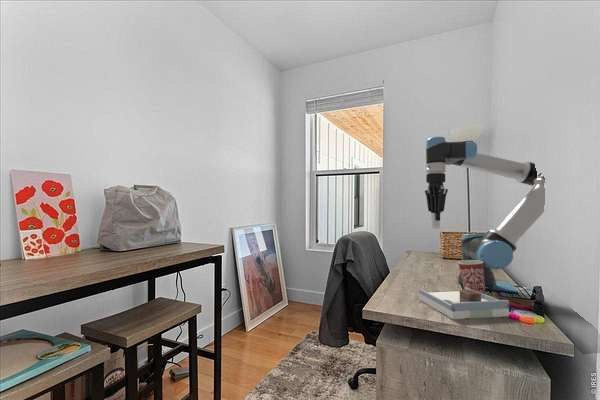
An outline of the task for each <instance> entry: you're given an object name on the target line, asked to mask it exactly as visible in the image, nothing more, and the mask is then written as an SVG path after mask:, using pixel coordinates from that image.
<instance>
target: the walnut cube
mask: <svg viewBox="0 0 600 400" xmlns="http://www.w3.org/2000/svg"><path fill="white" fill-rule="evenodd" d="M459 291H460V302H478V301H481V293H478V292H476V291H473V290H464V289H460V290H459Z"/></svg>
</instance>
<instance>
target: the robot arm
mask: <svg viewBox="0 0 600 400" xmlns="http://www.w3.org/2000/svg"><path fill="white" fill-rule="evenodd" d="M425 145H426V147H425V153H426V155H425V156H426V157H425V159H426V160H425V162H426V165H425V167H426V170H425V171H426V175H425V176H426V177H425V179H426V183H427V184H428V187H427V189H425V190H424V193H425V195H426V203H427V204H426V205H427V210H428V212H430V213H431V228H432V229H441V214H442V212H445V205H446V200H447V194H448V191H449V190H448V188H445V186H444V183H446V170H447V169H446V166H447V165H448V166H449V165H454V166H459V167H463V168H466V169H471V170H476V171H479V172H483V173H489V174H492V175H497V176H501V177H504V178H509V179H513V180H515V182H517V183H519V184H523V185H529V186H531V187H532V188H531V189H530V191H529V192H528V193H527V194H526V195H525V196H524V197H523V198H522V200H520V201H519V203H518V204H517V205H515V207H514V208H513V209H512V211H510V213H509V214H508V215H506V217H505V218H504V219H502V221H501V222H500V223H499V225H498V226H497V227H496V228H495V229H488V230H487V232H486V233H463V234H462V235H461V241H460V243H461V261H464V260H479V261H483V262H484V263H483V269H484V282H485V287H494V286H496V287H497V280H496V278H495V275H494V272H493V270H501V269H504V268H506V267H508V266H509V265H511V263H512V261H514V260H513V259H514V252H516V250H517V249H518V246H517V242H518V241H519V240H520V239H521V238H522V236H524V235H525V234H526V232H527V231H528V230H529V229H530V228H531V227H532V226H533V224H535V223H536V221H537V220H538V219H539V218H540V217H541V216H542V215H543V214H544V213H545V212H544V205H545V188H544V183H545V178H544V175H543V174H542V173H540V174H539V175H538V177H537V171H536V168H535V164H534V163H535V162H529V161H524V162H519V161H515V160H509V159H506V158H502V157H497V156H492V155H488V154H483V153H480V152H478V144H477V142H475V141H472V140H471V141H470V140H469V141H468V140H465V141H446V138H445V137H444V136H432V137H430V138H428V139H427V140H426V143H425ZM534 184H535V186H533V185H534ZM543 212H544V213H543ZM457 283H459V284H460V285H462V284H463V283H462V278H461V273H460V272H459V274H458V276H457ZM494 288H495V287H494Z"/></svg>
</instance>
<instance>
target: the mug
mask: <svg viewBox="0 0 600 400" xmlns="http://www.w3.org/2000/svg"><path fill="white" fill-rule="evenodd" d="M483 263H484V262H483V261H479V260H464V261H462V260H460V261H458V262H457V264H458V266H459V267H458V268H459V273H461V278H462V283H463V285H462V288H463V290H465V287H467V288H470V289H473V290H475V291H478V292H480V293H483V294H485V295H487V294H486V288H485V282H484V269H483Z"/></svg>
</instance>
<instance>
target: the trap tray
mask: <svg viewBox="0 0 600 400" xmlns="http://www.w3.org/2000/svg"><path fill="white" fill-rule="evenodd" d="M465 290H473V289H470V288H467V287H465ZM473 291H475V290H473ZM476 292H478V291H476ZM478 293H480V292H478ZM418 300H419V301H421V302H422V303H424V304H426V305H428V306H430V307H431V308H433V310H436V311H438V312H439V311H440V313H441V312H442V313H441V314H443V315H444V314H445V315H444V316H446V315H447V316H446V317H448V318H449V319H452V320H464V319H465V318H470V319H483V318H486V319H487V318H497V317H498V318H499V317H500V318H501V317H509V316H510V300H508V299H501V300H500V299H497V298H495V297H493V296H489V295H487V294H486V295H485V294H483V293H481V301H478V302H460V290H458V291H457V290H456V291H455V290H454V291H436V292H434V291H433V292H427V291H425V290H424V289H421V288H419V289H418ZM465 320H466V319H465Z"/></svg>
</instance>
